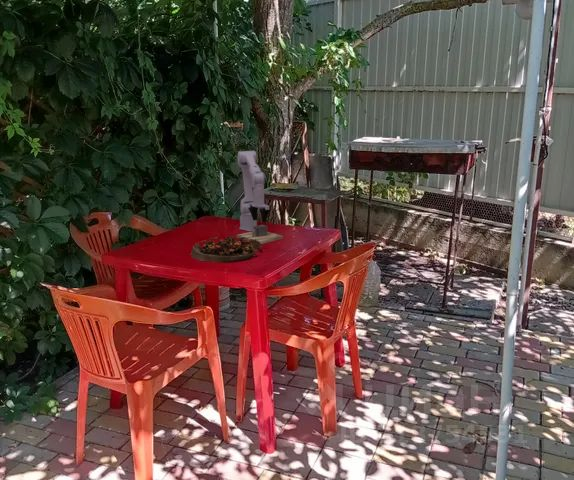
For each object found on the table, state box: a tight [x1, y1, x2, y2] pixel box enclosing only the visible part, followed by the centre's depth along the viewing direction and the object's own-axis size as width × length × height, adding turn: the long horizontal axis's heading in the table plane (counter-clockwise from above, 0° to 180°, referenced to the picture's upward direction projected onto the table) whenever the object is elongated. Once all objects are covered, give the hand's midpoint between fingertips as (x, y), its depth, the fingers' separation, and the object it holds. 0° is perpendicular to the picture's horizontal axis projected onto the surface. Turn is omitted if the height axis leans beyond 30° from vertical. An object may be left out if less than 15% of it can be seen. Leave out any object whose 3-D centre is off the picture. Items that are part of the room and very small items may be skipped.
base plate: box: [236, 229, 284, 245], centre depth 312 cm, size 19×16×6 cm
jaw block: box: [253, 224, 268, 237], centre depth 312 cm, size 4×6×5 cm, turn 133°
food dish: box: [189, 235, 263, 263], centre depth 286 cm, size 35×33×8 cm
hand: (259, 221), depth 311 cm, fingers open, 7 cm apart
